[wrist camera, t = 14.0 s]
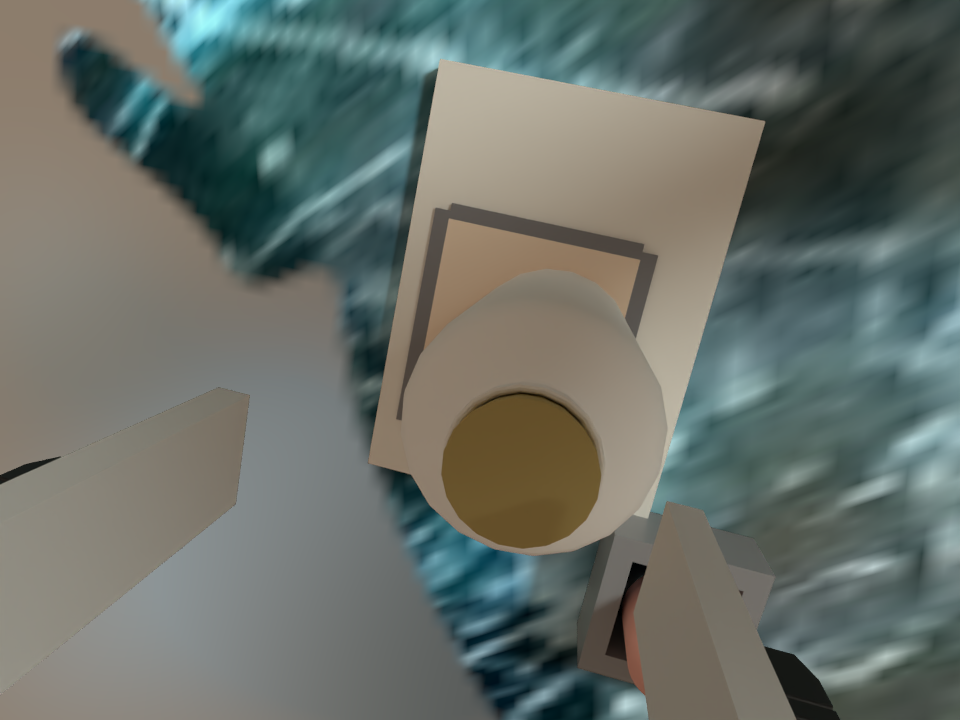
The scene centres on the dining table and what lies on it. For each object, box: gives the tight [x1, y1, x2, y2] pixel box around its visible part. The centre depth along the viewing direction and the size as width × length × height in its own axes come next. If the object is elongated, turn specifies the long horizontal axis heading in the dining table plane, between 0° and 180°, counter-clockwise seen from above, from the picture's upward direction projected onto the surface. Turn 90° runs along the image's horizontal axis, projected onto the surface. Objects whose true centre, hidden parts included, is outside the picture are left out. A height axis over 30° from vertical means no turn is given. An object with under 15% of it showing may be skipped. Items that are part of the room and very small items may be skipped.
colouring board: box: [368, 59, 765, 519], centre depth 34 cm, size 22×16×1 cm
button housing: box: [577, 512, 775, 684], centre depth 35 cm, size 8×8×4 cm
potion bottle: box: [401, 269, 668, 556], centre depth 25 cm, size 8×8×18 cm
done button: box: [621, 576, 645, 695], centre depth 32 cm, size 5×5×4 cm
